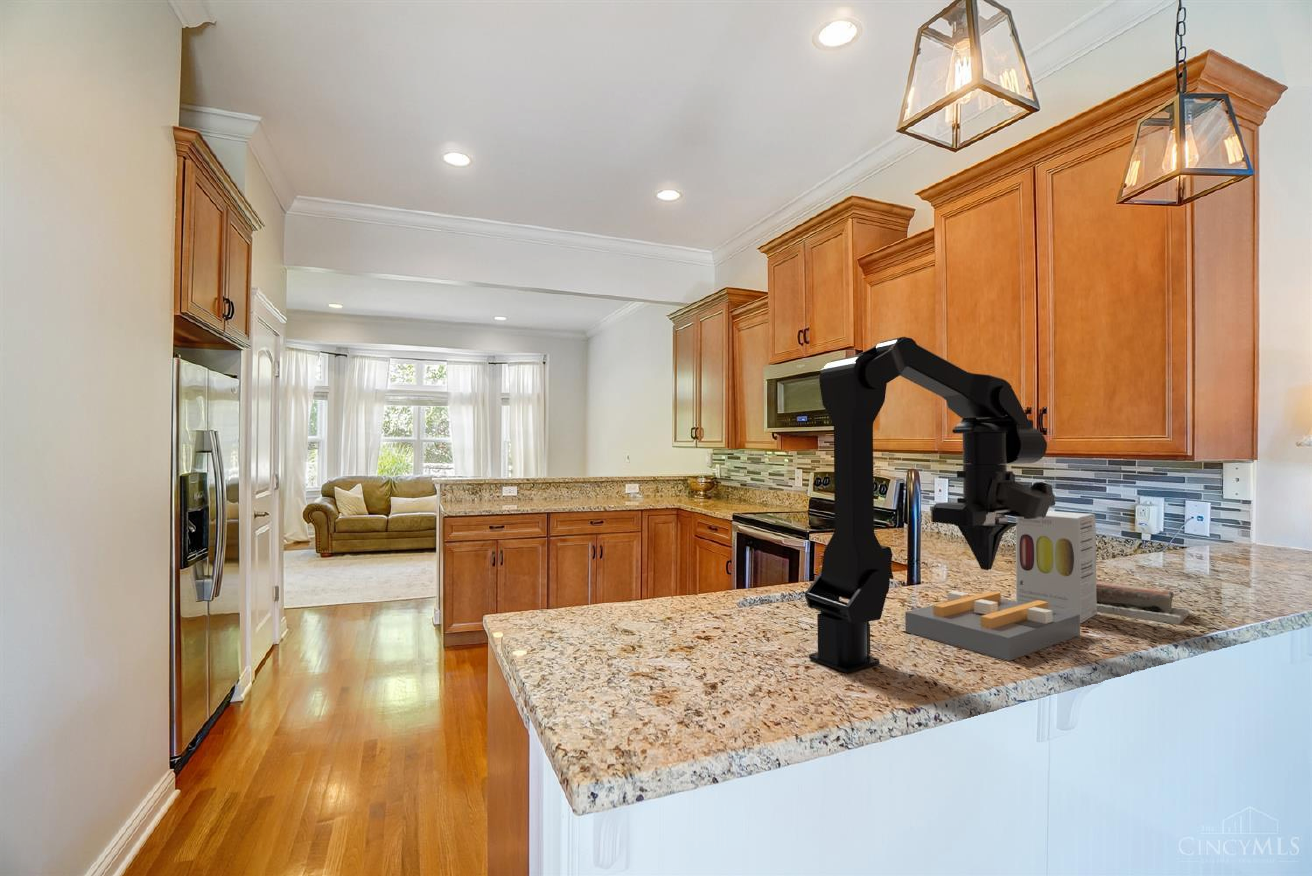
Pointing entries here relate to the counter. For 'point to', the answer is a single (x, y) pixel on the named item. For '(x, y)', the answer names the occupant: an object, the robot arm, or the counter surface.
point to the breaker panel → (995, 629)
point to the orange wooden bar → (963, 604)
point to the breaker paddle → (985, 606)
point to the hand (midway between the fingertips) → (986, 569)
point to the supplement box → (1057, 562)
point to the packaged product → (1138, 602)
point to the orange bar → (1010, 614)
